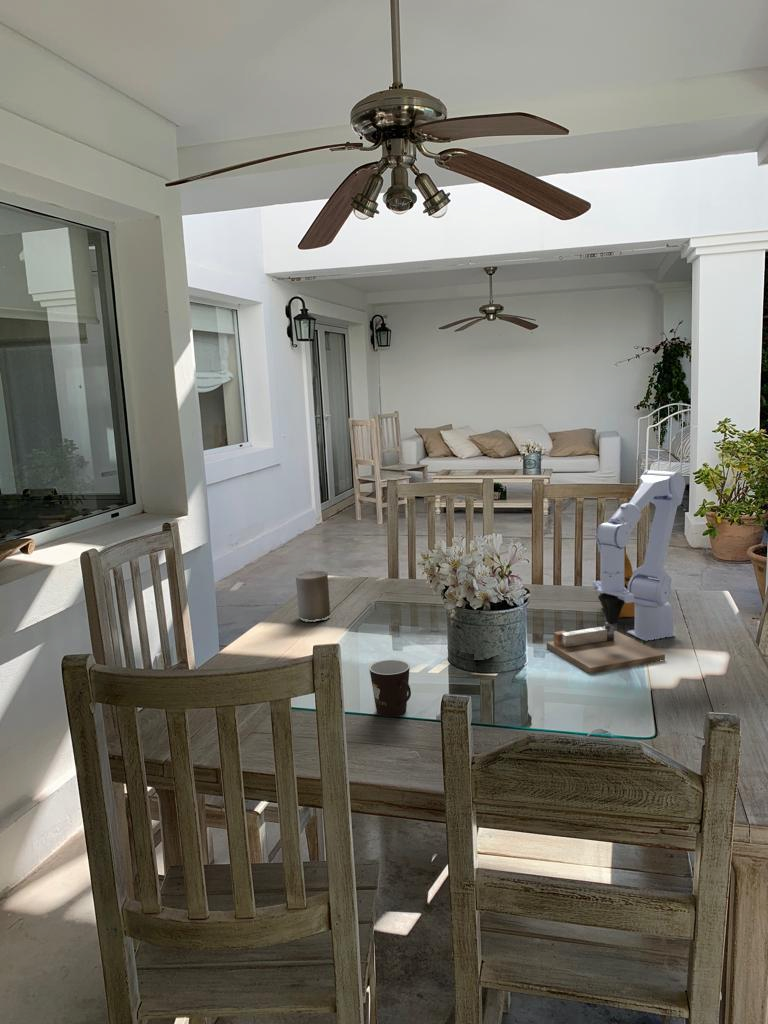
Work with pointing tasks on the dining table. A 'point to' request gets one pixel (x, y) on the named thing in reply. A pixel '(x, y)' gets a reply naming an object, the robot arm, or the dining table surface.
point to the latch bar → (588, 635)
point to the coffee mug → (390, 687)
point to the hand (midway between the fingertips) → (612, 623)
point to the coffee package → (627, 608)
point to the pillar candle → (313, 595)
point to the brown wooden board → (606, 653)
